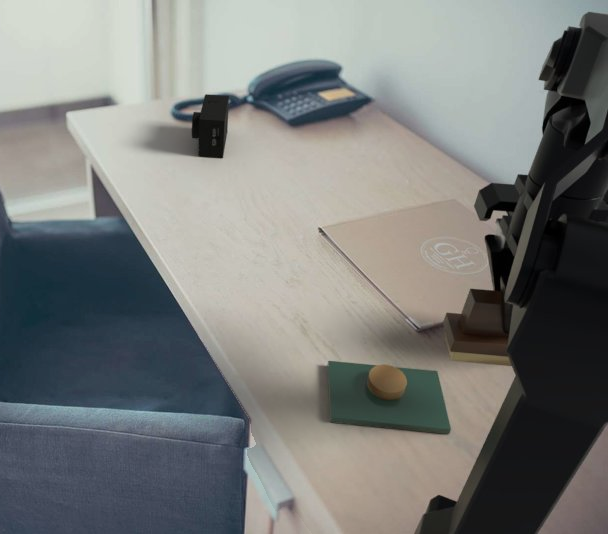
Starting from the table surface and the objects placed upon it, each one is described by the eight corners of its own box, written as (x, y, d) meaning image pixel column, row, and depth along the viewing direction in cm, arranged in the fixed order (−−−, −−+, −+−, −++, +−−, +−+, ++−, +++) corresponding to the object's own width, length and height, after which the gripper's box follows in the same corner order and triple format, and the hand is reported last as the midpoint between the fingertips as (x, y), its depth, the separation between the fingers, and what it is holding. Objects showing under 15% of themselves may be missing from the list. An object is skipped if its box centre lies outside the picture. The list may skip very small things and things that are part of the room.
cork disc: (410, 383, 69) (412, 375, 69) (395, 406, 67) (398, 398, 66) (376, 366, 71) (378, 359, 70) (360, 388, 69) (362, 380, 68)
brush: (553, 372, 61) (581, 318, 57) (446, 362, 62) (465, 308, 57) (540, 342, 64) (566, 289, 60) (438, 334, 65) (456, 280, 61)
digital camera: (197, 129, 118) (198, 92, 114) (227, 131, 118) (229, 94, 113) (191, 156, 110) (191, 118, 105) (222, 158, 109) (224, 120, 105)
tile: (449, 434, 65) (451, 429, 65) (330, 422, 66) (331, 417, 65) (435, 375, 71) (437, 370, 71) (327, 365, 72) (328, 360, 72)
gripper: (737, 259, 43) (636, 410, 53) (624, 134, 58) (561, 270, 67) (566, 246, 44) (497, 397, 54) (497, 126, 59) (453, 261, 68)
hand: (506, 324), depth 61 cm, fingers closed on brush, 2 cm apart
